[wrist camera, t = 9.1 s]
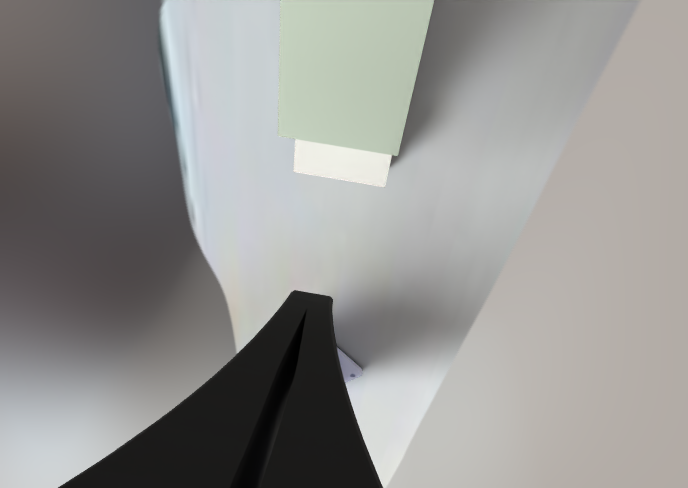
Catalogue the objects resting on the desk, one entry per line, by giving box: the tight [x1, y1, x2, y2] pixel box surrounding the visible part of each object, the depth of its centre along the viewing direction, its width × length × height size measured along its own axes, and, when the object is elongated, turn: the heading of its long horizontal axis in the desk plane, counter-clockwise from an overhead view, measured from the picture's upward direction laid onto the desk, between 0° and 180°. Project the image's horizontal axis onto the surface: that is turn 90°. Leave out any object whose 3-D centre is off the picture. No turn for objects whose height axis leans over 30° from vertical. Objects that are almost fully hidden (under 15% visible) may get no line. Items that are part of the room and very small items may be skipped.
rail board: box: [294, 139, 392, 187], centre depth 13 cm, size 9×5×3 cm, turn 172°
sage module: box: [278, 0, 434, 156], centre depth 11 cm, size 4×4×6 cm
